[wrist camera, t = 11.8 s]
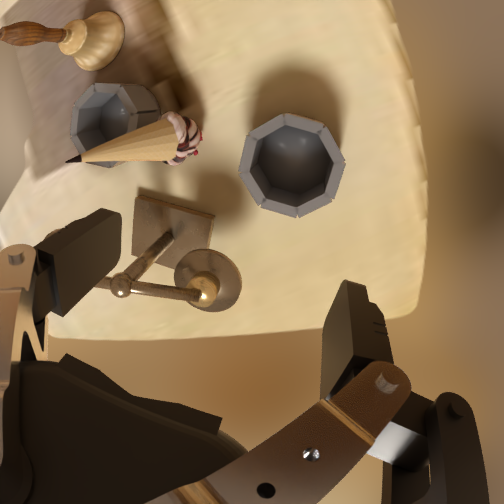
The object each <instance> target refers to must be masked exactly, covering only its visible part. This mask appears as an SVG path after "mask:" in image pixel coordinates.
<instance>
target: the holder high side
mask: <svg viewBox="0 0 504 504" xmlns="http://www.w3.org/2000/svg"><path fill="white" fill-rule="evenodd" d="M74 105H75V106H73V110H72V119H71V129H70V136H72V137H71V140H72V142H73V143H74V145H75V147H76V149H77V150H78V152H79V154H82V153H84V152H86V151H89V150H91V149H93V148H95V147H97V146H99V145H101V144H104V143H106V142H108V141H110V140H113V139H115V138H117V137H120V136H122V135H124V134H127V133H129V132H132V131H134V130H136V129H139V128H141V127H144V126H147V125H149V124H152V123H154V122H156V120H157V119H158V118H159V117H160V116H161V111H160V107H159V104H158V102H157V100H156V98H155V97H154V95H153V94H152V93H151V92H150V91H149V90H148V89H146V88H145V87H144V86H142V85H136V84H125V83H95V84H92V85H91V86H90V87H89V88H88V89H87V90H86V91H85V92H84V93H83V95H82V96H81V97H80V98H79V99H78V100H77V101H76V102H75V103H74ZM125 162H127V161H95V162H86V163H89V164H93V165H98V166H102V167H107V168H112V167H114V166H117V165H119V164H122V163H125Z"/></svg>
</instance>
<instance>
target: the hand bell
mask: <svg viewBox="0 0 504 504" xmlns="http://www.w3.org/2000/svg"><path fill="white" fill-rule="evenodd" d="M124 32H125V31H124V25H123V22H122V20H121V18H120V17H119V16H118V15H117V14H115V13H113V12H109V11H103V12H99V13H96V14H94V15H92V16H90V17H89V18H87V19H86V20H82V19H76V20H73V21H71V22H69V23H68V24H67V25H66V26H65V27H64V28H63V29H58V28H47V27H45V26H43V25H41V24H39V23H35V22H29V21H23V22H18V23H14V24H12V25H9V26H5V27H2V28H1V29H0V40H2V41H5V42H7V43H9V44H11V45H15V46H28V45H33V44H37V43H40V42H44V41H48V42H56V43H59V48H60V50H61V51H62V52H63V53H64V54H67V55H71V56H73V57H74V60H75V62H76V63H77V64H78V65H79V66H80V67H81V68H82V69H84V70H87V71H96V70H99V69H102V68H104V67H105V66H107V65H108V64H109V63H110V62H111V61H113V59H114V58H115V57H116V56H117V54H118V52H119V51H120V49H121V46H122V44H123V40H124Z"/></svg>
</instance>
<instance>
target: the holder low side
mask: <svg viewBox="0 0 504 504" xmlns="http://www.w3.org/2000/svg"><path fill="white" fill-rule="evenodd" d="M344 161H345V159H344V157H343V155H342V153H341V152H340V150H339V148H338V146H337V144H336V142H335V141H334V139H333V137H332V135H331V133H330V132H329V130H328V128H327V126H326V125H325V124H323V122H321V121H317V120H314V119H311V118H308V117H304V116H300V115H296V114H293V113H283V114H280V115H278V116H277V117H275V118H273V119H271V120H270V121H268V122H266V123H264V124H263V125H261V126H259V127H258V128H256V129H254V130H252V131H251V132H249V135H247V136H246V140H245V144H244V148H243V153H242V157H241V161H240V166H239V170H238V171H239V172H241V173H240V174H239V176H240V177H241V179H242V181H243V182H244V184H245V185H246V187H247V189H248V190H249V192H250V194H251V195H252V197H253V198H254V200H255V202H256V203H257V205H260V204H261V208H263V209H267V210H270V211H274V212H277V213H280V214H284V215H287V216H291V217H294V218H296V216H297V215H298V217H299V218H300V217H302V216H304V215H306V214H308V213H310V212H312V211H314V210H316V209H318V208H320V207H323V206H325V205H327V204H329V203H331V202H332V199H334V198H335V195H336V192H337V189H338V186H339V183H340V180H341V177H342V174H343V171H344V168H345V165H346V164H345V162H344Z"/></svg>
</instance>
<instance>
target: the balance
mask: <svg viewBox="0 0 504 504" xmlns="http://www.w3.org/2000/svg"><path fill="white" fill-rule="evenodd" d="M214 219H215V216H213V215H209V214H206V213H202V212H199V211H195V210H192V209H188V208H184V207H181V206H177V205H174V204H170V203H167V202H163V201H159V200H156V199H152V198H148V197H145V196H141V195H140V196H138V197H136V198H135V206H134V219H133V234H132V254H131V255H134V256H137V257H138V258H137V259H136V260H135V261H134V262H133V263H132V264H131V265H130V266H129V267H128V268H127V269H126V270H125V271H124V272H120V273H116V274H115V275H113V277H108V276H105V277H104V278H103V279H102V280H101V281H99V282H98V283H97V284H96V285H95V286H94V287H97V288H103V289H109V290H111V292H112V293H113V294H114V295H115V296H116V297H119V298H125V297H127V296H129V295H130V294H131V293H134V294H141V295H147V296H154V297H161V298H168V299H176V300H183V301H187V302H188V303H189V304H190V305H192V306H193V307H195V308H197V309H200V310H203V311H207V312H220V311H224V310H226V309H228V308H230V307H231V306H232V305H234V304H235V302H236V301H237V299H238V297H239V295H240V292H241V289H242V278H241V275H240V272H239V270H238V268H237V267H236V265H235V264H234V263H233V262H232V261H231V260H230V259H229V258H228V257H227V256H225V255H224V254H222V253H220V252H218V251H215V250H211V249H209V245H210V240H211V235H212V230H213V224H214ZM59 230H60V229H56V230H54V231H52V232H51V233H49V234H48V235H47V236H46V237H45V239H46V238H48V237H49V236H51V235H52V234H54V233H57V232H58V231H59ZM45 239H44V240H45ZM153 263H157V264H160V265H163V266H166V267H169V268H172V269H175V272H174V281H175V285H176V287H175V286H167V285H160V284H153V283H147V282H140V281H137V280H138V279H139V278H140V277H141V276H142V275H143V274H144V273H145V272H146V271H147V270H148V268H149V267H150V266H151V265H152V264H153Z"/></svg>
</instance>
